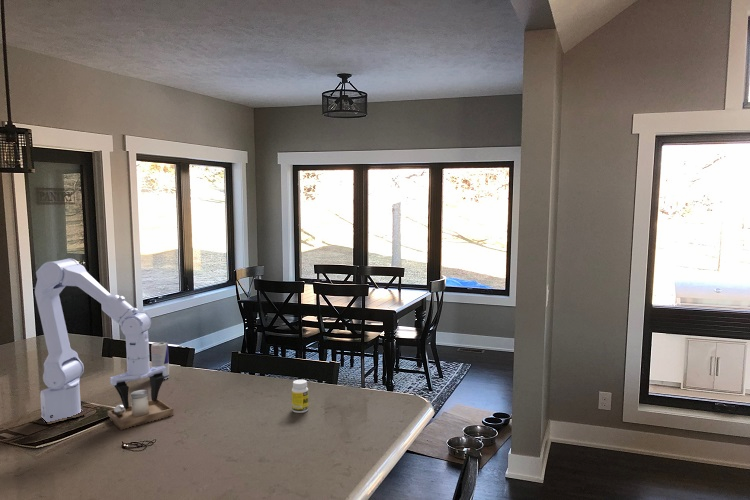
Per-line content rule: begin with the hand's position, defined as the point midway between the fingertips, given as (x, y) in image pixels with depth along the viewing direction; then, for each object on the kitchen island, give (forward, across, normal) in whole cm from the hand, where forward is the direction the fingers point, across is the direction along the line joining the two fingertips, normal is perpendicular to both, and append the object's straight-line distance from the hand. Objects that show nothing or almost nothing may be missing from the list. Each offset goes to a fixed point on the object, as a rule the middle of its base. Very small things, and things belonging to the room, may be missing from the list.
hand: (140, 404), depth 150 cm
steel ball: (+1, -4, +3) cm, 6 cm away
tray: (+4, 0, 0) cm, 4 cm away
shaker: (+3, 0, 0) cm, 3 cm away
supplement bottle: (+4, +35, -27) cm, 44 cm away
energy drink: (+4, +17, +29) cm, 34 cm away
